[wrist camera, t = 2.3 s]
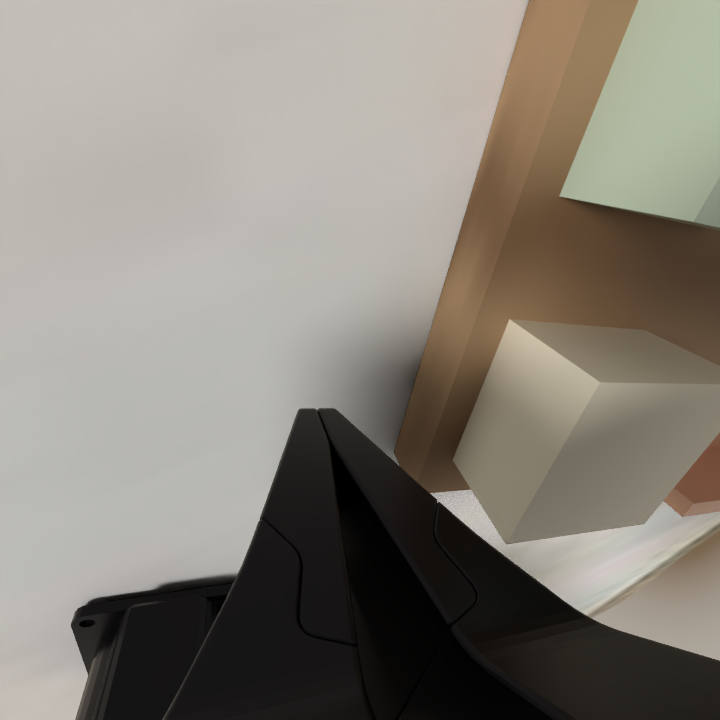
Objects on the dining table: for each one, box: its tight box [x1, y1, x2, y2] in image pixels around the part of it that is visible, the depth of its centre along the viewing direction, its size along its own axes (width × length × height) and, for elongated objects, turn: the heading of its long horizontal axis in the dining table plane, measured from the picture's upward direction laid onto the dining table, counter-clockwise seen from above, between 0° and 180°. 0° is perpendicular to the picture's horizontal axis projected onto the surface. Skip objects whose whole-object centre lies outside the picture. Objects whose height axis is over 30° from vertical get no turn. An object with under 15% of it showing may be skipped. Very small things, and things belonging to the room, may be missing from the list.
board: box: [394, 0, 720, 493], centre depth 11 cm, size 16×12×2 cm
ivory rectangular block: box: [453, 319, 720, 544], centre depth 10 cm, size 5×5×3 cm
